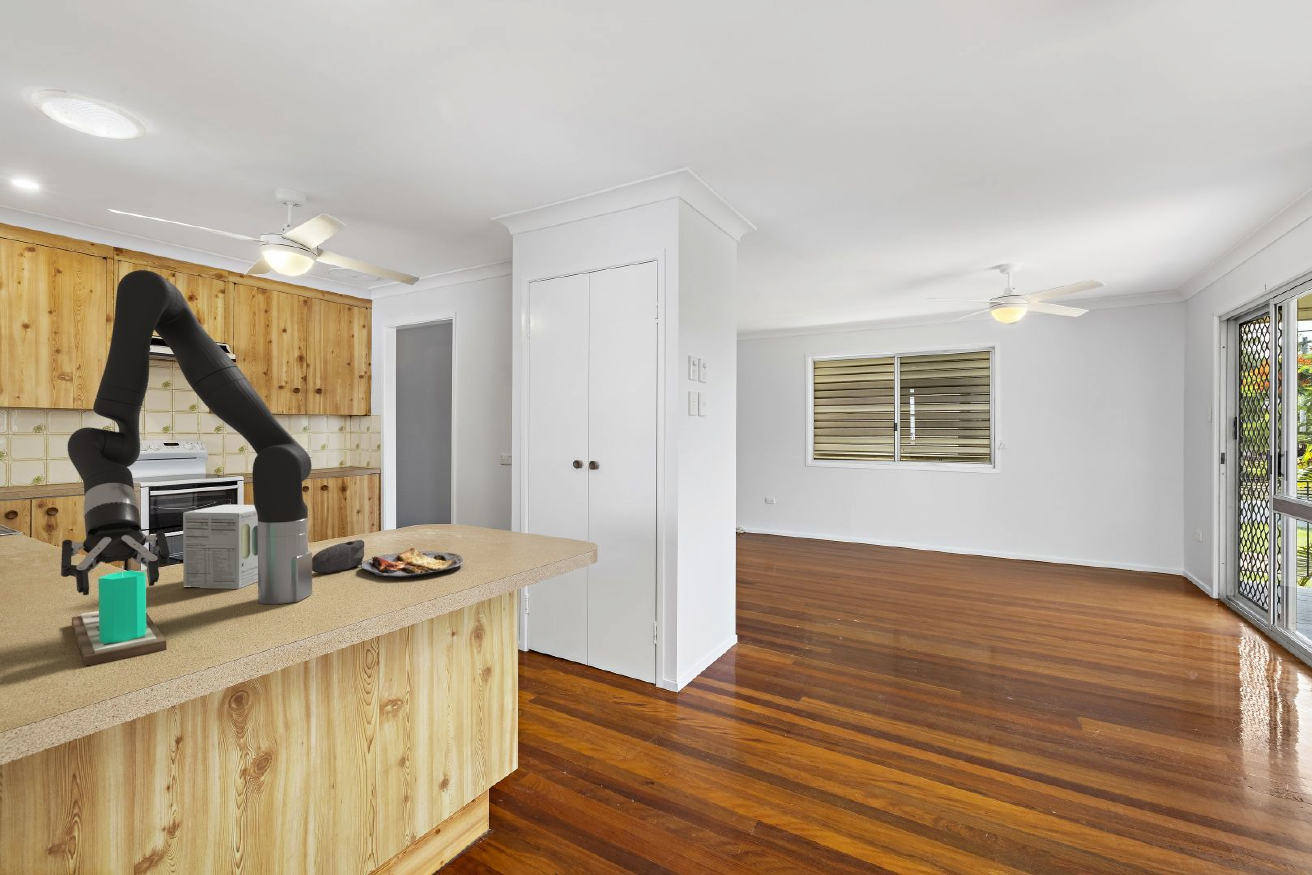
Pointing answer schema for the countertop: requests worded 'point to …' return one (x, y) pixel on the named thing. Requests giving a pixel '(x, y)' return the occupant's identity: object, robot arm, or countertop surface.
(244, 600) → the countertop surface
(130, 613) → the candle
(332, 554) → the perforated stone tool
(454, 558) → the food plate
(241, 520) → the supplement box
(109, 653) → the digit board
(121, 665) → the countertop surface
